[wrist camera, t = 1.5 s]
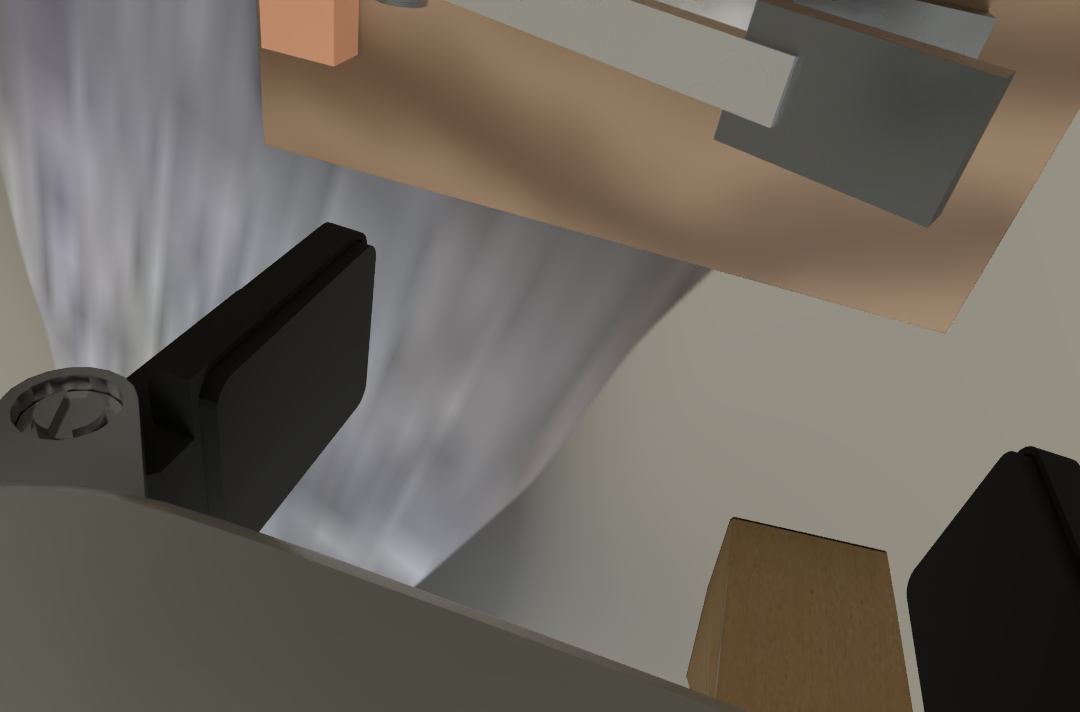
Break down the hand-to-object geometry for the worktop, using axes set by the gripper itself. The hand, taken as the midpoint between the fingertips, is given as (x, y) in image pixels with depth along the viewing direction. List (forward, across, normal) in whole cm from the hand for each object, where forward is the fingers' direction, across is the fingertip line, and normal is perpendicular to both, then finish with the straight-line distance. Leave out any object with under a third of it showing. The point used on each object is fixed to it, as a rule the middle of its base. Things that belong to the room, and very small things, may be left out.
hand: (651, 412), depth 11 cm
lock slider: (+20, +16, +2) cm, 25 cm away
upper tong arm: (+15, +3, -2) cm, 16 cm away
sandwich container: (+23, -12, +29) cm, 39 cm away
